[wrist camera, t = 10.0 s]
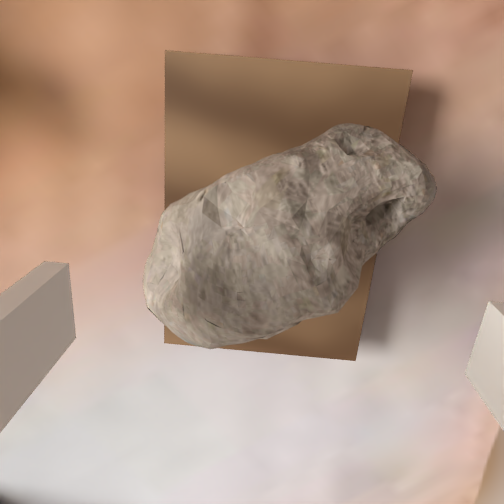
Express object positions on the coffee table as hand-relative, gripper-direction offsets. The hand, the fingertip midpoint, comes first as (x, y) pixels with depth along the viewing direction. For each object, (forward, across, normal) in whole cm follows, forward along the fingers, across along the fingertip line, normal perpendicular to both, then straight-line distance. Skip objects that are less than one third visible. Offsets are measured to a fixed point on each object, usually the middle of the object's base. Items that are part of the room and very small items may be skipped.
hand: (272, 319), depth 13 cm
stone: (+12, 0, 0) cm, 12 cm away
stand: (+15, 0, -1) cm, 15 cm away
